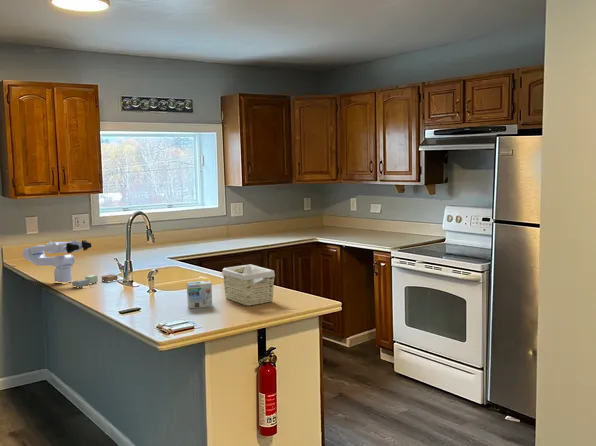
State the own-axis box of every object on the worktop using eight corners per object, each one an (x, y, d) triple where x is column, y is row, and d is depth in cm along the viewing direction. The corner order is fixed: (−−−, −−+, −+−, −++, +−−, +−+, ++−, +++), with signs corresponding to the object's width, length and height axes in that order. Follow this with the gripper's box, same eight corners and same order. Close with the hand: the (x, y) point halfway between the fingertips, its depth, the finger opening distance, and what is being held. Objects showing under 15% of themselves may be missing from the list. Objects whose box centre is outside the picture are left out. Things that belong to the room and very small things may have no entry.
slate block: (72, 288, 310) (72, 281, 310) (82, 286, 315) (81, 279, 315) (79, 288, 307) (79, 281, 306) (89, 286, 312) (88, 279, 311)
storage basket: (221, 298, 277) (220, 267, 275) (252, 293, 286) (250, 263, 284) (245, 308, 257) (244, 274, 255) (277, 302, 266) (276, 270, 264)
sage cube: (85, 284, 319) (85, 276, 319) (92, 283, 323) (92, 274, 323) (90, 285, 317) (90, 277, 316) (97, 283, 321) (97, 275, 320)
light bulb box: (188, 309, 258) (187, 284, 257) (187, 305, 265) (186, 282, 263) (213, 306, 261) (211, 282, 260) (210, 303, 268) (209, 280, 266)
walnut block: (102, 282, 324) (101, 276, 324) (110, 280, 329) (110, 274, 329) (109, 283, 321) (108, 277, 321) (117, 281, 326) (117, 275, 326)
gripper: (56, 241, 313) (71, 240, 306) (79, 238, 325) (95, 237, 318) (58, 254, 314) (73, 253, 306) (81, 250, 326) (96, 249, 318)
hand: (84, 246), depth 312 cm, fingers open, 7 cm apart
